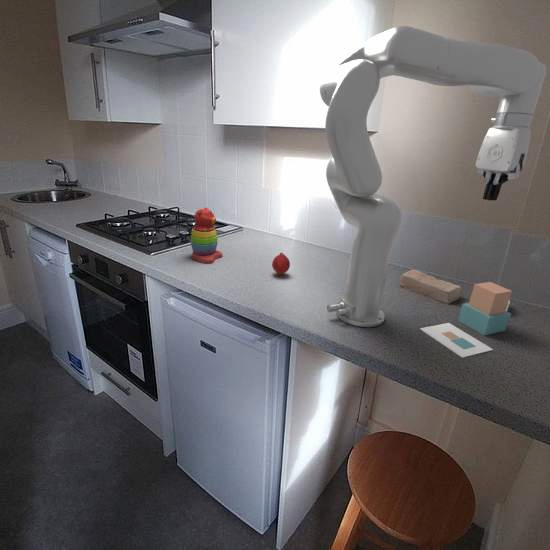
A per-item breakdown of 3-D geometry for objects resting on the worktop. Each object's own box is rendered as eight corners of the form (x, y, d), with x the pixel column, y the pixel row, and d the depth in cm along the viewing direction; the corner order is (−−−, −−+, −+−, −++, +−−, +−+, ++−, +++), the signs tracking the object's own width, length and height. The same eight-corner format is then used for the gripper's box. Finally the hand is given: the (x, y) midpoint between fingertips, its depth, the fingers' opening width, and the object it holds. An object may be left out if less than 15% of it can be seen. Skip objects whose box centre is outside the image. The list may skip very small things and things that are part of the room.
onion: (273, 270, 123) (275, 248, 120) (290, 273, 122) (292, 250, 119) (269, 276, 118) (271, 253, 115) (287, 279, 117) (289, 255, 114)
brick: (459, 298, 112) (463, 284, 110) (447, 305, 107) (451, 291, 105) (410, 281, 123) (413, 268, 121) (397, 286, 118) (400, 273, 116)
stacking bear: (210, 264, 124) (210, 213, 118) (184, 259, 127) (183, 209, 120) (224, 255, 134) (225, 208, 127) (200, 251, 137) (199, 204, 130)
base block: (483, 335, 91) (489, 317, 89) (457, 320, 97) (462, 303, 96) (505, 330, 94) (511, 313, 92) (478, 316, 101) (483, 300, 99)
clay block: (488, 315, 90) (495, 293, 88) (468, 304, 95) (474, 284, 93) (504, 312, 92) (512, 291, 90) (484, 302, 97) (490, 281, 95)
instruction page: (462, 357, 81) (462, 356, 81) (419, 329, 92) (420, 328, 91) (492, 350, 84) (493, 349, 84) (448, 323, 95) (448, 322, 95)
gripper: (474, 121, 91) (455, 194, 98) (532, 121, 78) (506, 205, 85) (494, 123, 94) (475, 194, 101) (554, 124, 81) (527, 205, 88)
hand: (489, 199), depth 93 cm, fingers closed
